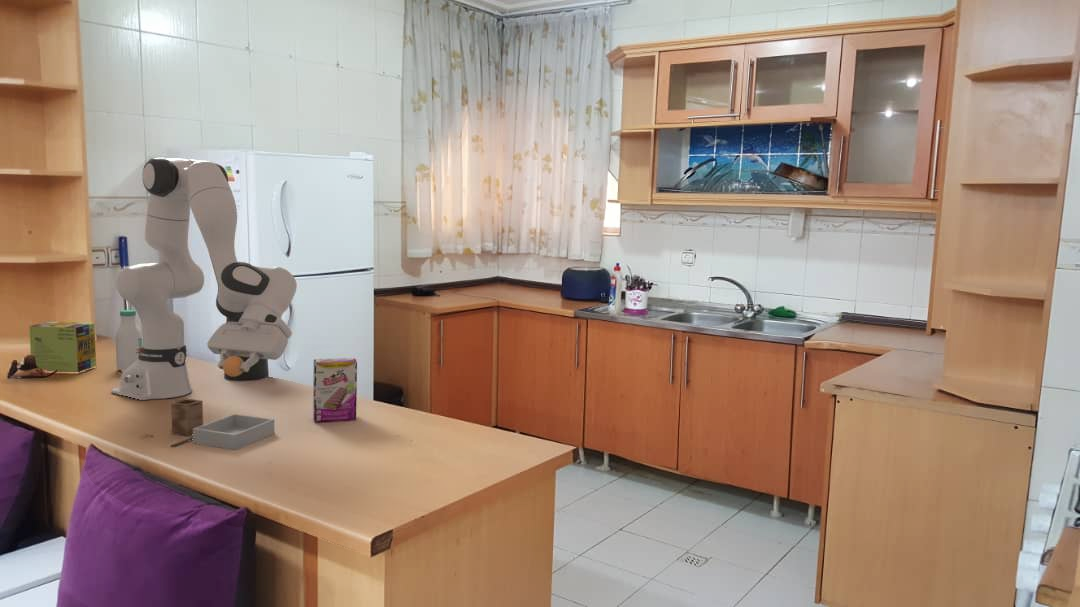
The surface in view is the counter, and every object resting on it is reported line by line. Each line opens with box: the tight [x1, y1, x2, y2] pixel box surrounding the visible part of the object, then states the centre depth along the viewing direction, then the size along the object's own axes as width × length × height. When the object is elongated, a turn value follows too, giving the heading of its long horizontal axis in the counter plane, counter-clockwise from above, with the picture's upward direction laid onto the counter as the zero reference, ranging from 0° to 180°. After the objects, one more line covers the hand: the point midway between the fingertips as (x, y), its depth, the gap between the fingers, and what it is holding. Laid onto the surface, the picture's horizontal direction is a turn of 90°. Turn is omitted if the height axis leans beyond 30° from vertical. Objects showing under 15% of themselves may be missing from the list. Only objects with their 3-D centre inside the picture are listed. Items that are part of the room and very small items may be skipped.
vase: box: [223, 316, 270, 382], centre depth 247 cm, size 14×14×29 cm
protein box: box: [29, 321, 97, 372], centre depth 248 cm, size 10×15×16 cm
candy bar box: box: [312, 357, 358, 423], centre depth 203 cm, size 11×5×16 cm, turn 110°
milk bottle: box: [115, 309, 143, 371], centre depth 252 cm, size 8×8×20 cm
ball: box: [222, 356, 244, 377], centre depth 183 cm, size 5×5×5 cm
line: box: [170, 436, 193, 447], centre depth 188 cm, size 1×22×1 cm, turn 161°
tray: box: [192, 413, 275, 451], centre depth 185 cm, size 12×14×4 cm
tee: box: [170, 398, 204, 437], centre depth 188 cm, size 5×5×8 cm
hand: (232, 369), depth 183 cm, fingers closed on ball, 5 cm apart
